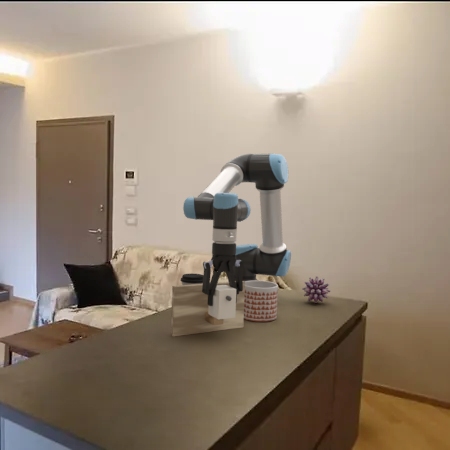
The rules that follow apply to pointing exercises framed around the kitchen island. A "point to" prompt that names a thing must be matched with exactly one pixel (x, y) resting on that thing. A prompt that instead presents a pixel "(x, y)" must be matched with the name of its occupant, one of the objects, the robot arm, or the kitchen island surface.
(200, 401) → the kitchen island surface
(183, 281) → the coffee cup
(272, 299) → the planter
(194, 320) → the wooden board
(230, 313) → the cabinet
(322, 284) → the purple spiky ball
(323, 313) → the kitchen island surface
